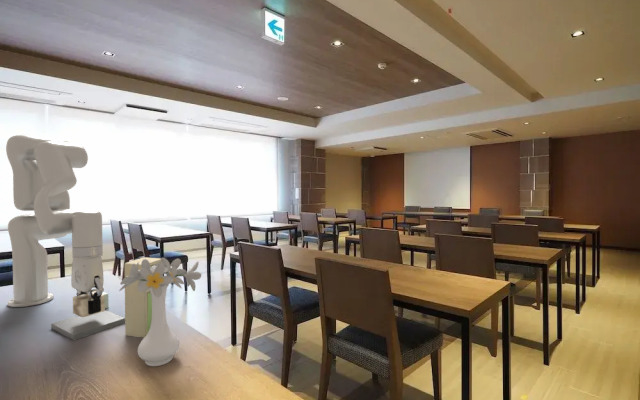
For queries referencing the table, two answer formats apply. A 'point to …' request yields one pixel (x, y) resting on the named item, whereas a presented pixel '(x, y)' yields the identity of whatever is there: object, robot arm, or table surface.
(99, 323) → the base plate
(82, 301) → the birch block
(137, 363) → the table surface
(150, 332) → the flower vase
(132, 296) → the toy refrigerator
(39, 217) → the robot arm
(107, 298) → the sage block
